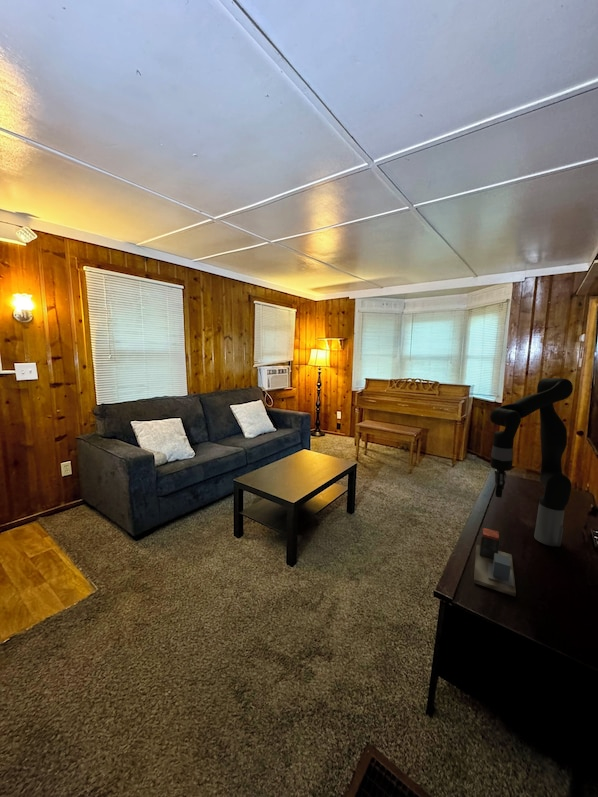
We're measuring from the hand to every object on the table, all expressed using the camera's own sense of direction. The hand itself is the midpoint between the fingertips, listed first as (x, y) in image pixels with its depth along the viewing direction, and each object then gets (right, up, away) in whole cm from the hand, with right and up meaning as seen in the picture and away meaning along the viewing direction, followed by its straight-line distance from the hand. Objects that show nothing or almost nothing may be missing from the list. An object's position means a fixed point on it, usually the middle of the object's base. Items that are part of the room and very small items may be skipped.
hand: (498, 496), depth 134 cm
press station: (-6, -27, -7) cm, 29 cm away
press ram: (-4, -22, 0) cm, 22 cm away
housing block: (-7, -26, -12) cm, 29 cm away
